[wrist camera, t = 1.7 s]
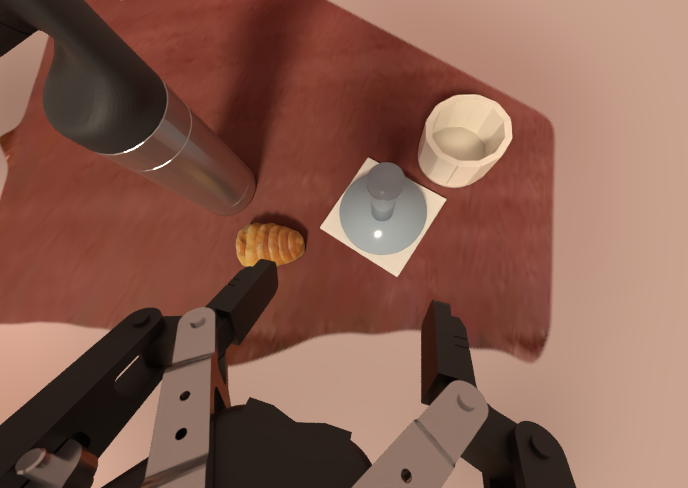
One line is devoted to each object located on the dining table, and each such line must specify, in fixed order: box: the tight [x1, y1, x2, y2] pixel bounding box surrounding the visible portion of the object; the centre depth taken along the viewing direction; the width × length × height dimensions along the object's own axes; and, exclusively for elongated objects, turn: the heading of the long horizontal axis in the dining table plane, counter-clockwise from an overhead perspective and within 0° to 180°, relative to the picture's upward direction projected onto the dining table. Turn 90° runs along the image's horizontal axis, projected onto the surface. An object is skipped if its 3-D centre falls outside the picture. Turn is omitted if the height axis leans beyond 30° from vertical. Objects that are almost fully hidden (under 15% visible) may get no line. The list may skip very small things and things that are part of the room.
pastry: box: [236, 222, 305, 267], centre depth 35 cm, size 9×7×4 cm
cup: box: [418, 94, 512, 188], centre depth 33 cm, size 10×10×6 cm
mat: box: [320, 158, 446, 277], centre depth 35 cm, size 13×13×1 cm
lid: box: [339, 162, 427, 255], centre depth 30 cm, size 12×12×11 cm
